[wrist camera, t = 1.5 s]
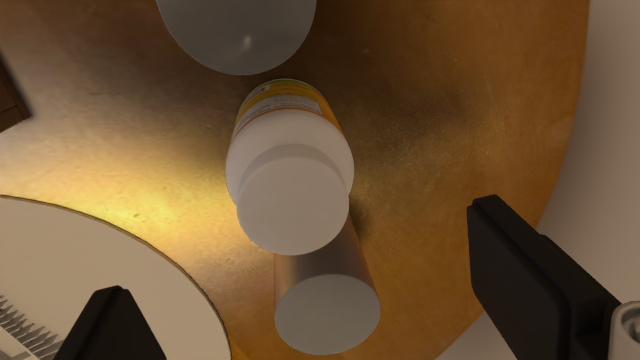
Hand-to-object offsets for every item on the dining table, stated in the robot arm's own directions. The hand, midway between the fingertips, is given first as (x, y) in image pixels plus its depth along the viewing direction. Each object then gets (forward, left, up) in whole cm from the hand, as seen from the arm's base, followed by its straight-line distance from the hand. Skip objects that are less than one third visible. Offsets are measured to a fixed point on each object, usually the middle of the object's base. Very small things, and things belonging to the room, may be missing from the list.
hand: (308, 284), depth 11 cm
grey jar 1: (-7, 0, -13) cm, 15 cm away
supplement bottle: (0, 0, -14) cm, 14 cm away
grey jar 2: (+7, 0, -13) cm, 15 cm away
